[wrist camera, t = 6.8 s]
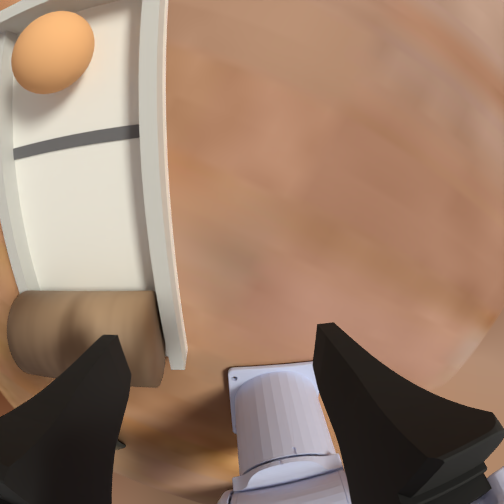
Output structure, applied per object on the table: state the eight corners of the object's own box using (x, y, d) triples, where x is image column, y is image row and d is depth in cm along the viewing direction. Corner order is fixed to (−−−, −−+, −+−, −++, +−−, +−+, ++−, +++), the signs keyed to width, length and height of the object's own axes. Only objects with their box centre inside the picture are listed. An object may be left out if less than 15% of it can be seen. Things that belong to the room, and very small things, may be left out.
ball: (105, 89, 15) (67, 74, 10) (38, 105, 14) (-9, 101, 10) (109, 17, 13) (78, -14, 8) (43, 37, 13) (1, 18, 8)
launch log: (169, 346, 22) (157, 407, 16) (60, 341, 21) (30, 391, 15) (156, 273, 19) (133, 328, 14) (38, 275, 19) (-5, 319, 13)
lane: (187, 348, 23) (183, 384, 19) (57, 342, 22) (39, 372, 18) (169, -14, 13) (157, -42, 10) (16, 29, 12) (-15, 19, 9)
